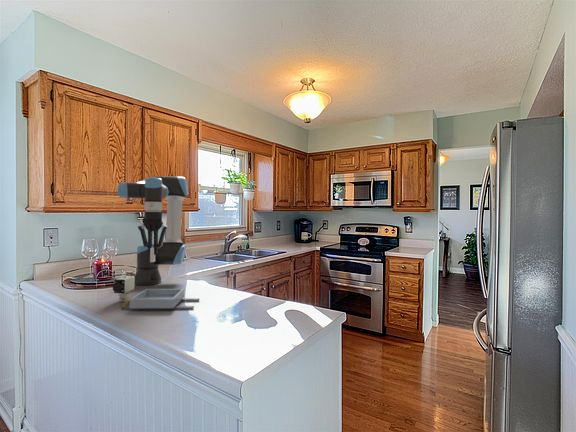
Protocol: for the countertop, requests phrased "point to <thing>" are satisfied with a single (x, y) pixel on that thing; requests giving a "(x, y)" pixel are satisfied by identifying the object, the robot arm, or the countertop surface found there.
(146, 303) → the shallow square tray
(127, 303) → the rails
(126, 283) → the pneumatic valve
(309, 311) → the countertop surface
